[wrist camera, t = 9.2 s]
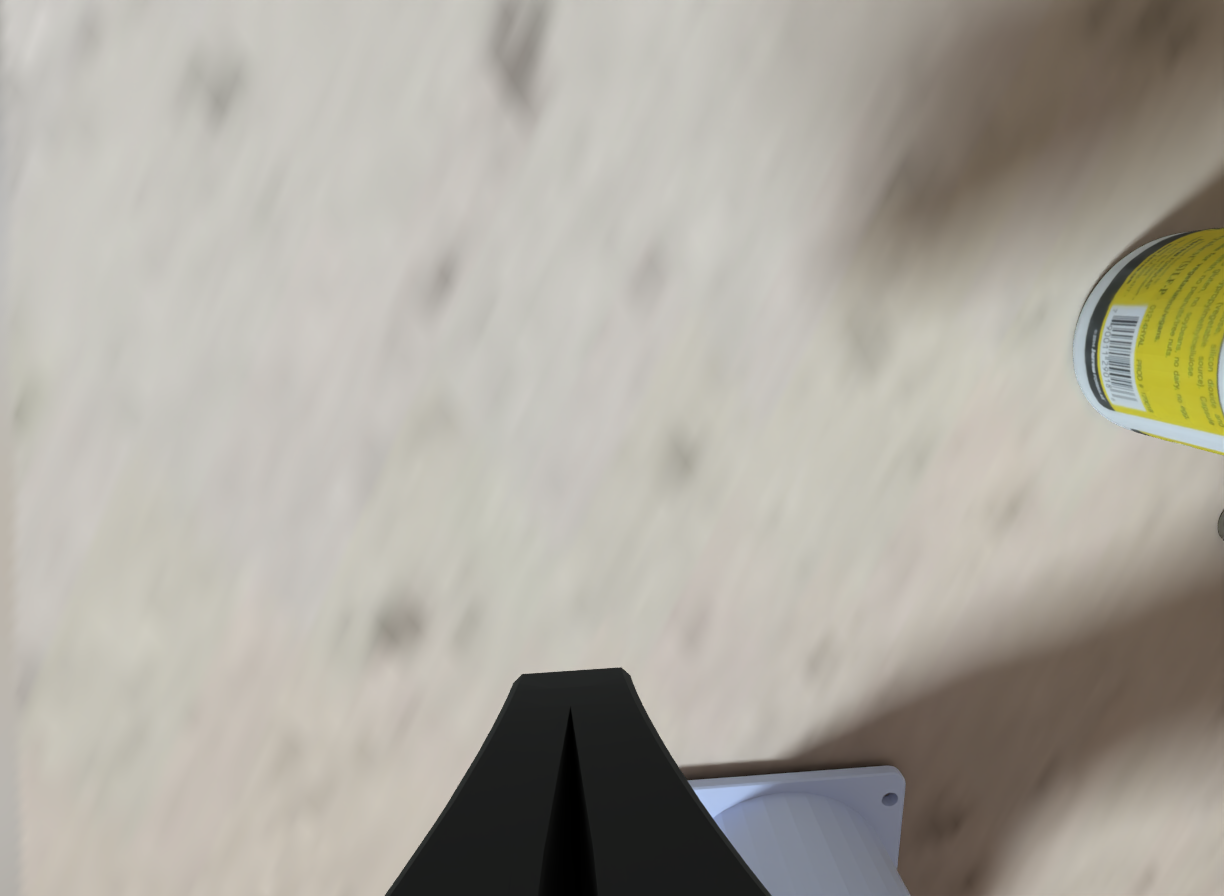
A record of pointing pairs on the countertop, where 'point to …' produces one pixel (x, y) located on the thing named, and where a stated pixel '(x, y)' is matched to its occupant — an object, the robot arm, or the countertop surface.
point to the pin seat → (1221, 526)
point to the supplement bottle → (1159, 341)
